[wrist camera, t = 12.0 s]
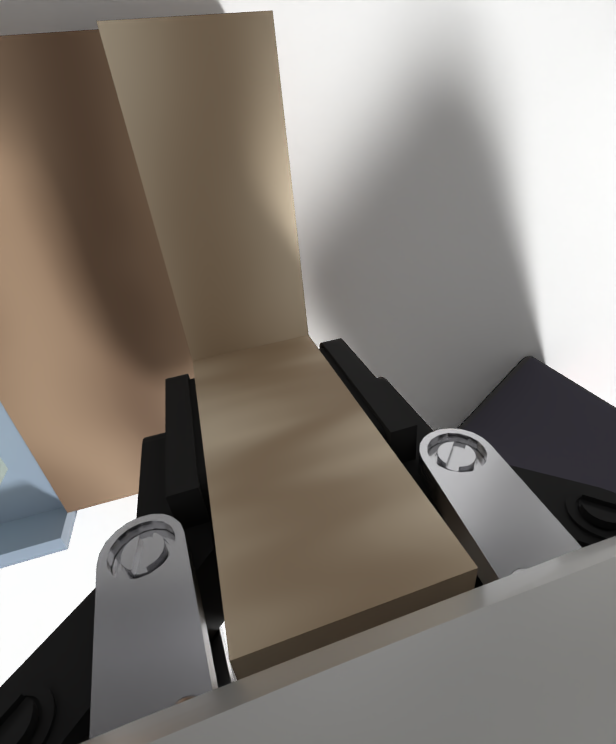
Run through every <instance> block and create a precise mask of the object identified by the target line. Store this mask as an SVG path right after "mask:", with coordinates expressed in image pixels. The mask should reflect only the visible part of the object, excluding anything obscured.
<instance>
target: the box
mask: <svg viewBox="0 0 616 744" xmlns="http://www.w3.org/2000/svg"><path fill="white" fill-rule="evenodd" d="M0 458H1V459H2V461H3V462H4V464H5V465H6V467H7V468H8V470H7V472H6V474H5V476H4V478H3V480H2V482H1V484H0V568H3V567H7V566H10V565H14V564H17V563H21V562H24V561H28V560H31V559H35V558H38V557H41V556H45V555H48V554H52V553H55V552H59V551H62V550H66V549H68V546H69V542H70V538H71V534H72V530H73V526H74V522H75V518H76V513H77V510H76V511H73V512H69V513H67V511H66V510H65V508H64V506H63V505H62V503H61V501H60V500H59V498H58V496H57V495H56V493H55V491H54V490H53V488H52V486H51V485H50V483H49V481H48V480H47V478H46V476H45V475H44V473H43V471H42V470H41V468H40V466H39V465H38V463H37V461H36V460H35V458H34V456H33V455H32V453H31V451H30V450H29V448H28V446H27V445H26V443H25V441H24V440H23V438H22V436H21V435H20V433H19V431H18V430H17V428H16V427H15V425H14V423H13V422H12V420H11V418H10V417H9V415H8V413H7V412H6V410H5V408H4V407H3V405H2V403H1V402H0Z"/></svg>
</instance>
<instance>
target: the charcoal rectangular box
mask: <svg viewBox="0 0 616 744" xmlns="http://www.w3.org/2000/svg"><path fill="white" fill-rule="evenodd" d="M458 429H462V430H466V431H469V432H473V433H475V434H477V435H479V436H480V437H482V438H484V439H485V440H486V441H487V442H488V443H489V444H490V445H491V446H492V447H493V448H494V449H495V450H496V451H497V452H498V454H499V455H500V456H501V457H502V458H503V459H504V460H505V461H506V463H507V464H508V465H512V466H516V467H520V468H524V469H528V470H532V471H536V472H540V473H544V474H548V475H552V476H556V477H560V478H564V479H568V480H572V481H576V482H580V483H584V484H588V485H592V486H596V487H600V488H603V489H606V490H609V491H612V492H614V493H616V408H615V407H614V406H612V405H610V404H609V403H607V402H606V401H604V400H602V399H601V398H599V397H597V396H596V395H594V394H593V393H591V392H589V391H588V390H586V389H584V388H583V387H581V386H580V385H578V384H576V383H575V382H573V381H571V380H570V379H568V378H567V377H565V376H563V375H562V374H560V373H558V372H557V371H555V370H554V369H552V368H550V367H549V366H547V365H545V364H544V363H542V362H540V361H539V360H537V359H536V358H534V357H531V356H529V357H525V358H524V359H523V360H522V361H521V362H520V363H519V364H518V365H517V366H516V367H515V368H514V369H513V370H512V371H511V372H510V373H509V375H508V376H507V377H506V378H505V379H504V380H503V381H502V382H501V383H500V384H499V385H498V386H497V387H496V388H495V389H494V391H493V392H492V393H491V394H490V395H489V396H488V397H487V398H486V399H485V400H484V401H483V402H482V403H481V404H480V405H479V407H478V408H477V409H476V410H475V411H474V412H473V413H472V414H471V415H470V416H469V417H468V418H467V419H466V420H465V421H464V423H463V424H462V425H461V426H460V427H459V428H458Z"/></svg>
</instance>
